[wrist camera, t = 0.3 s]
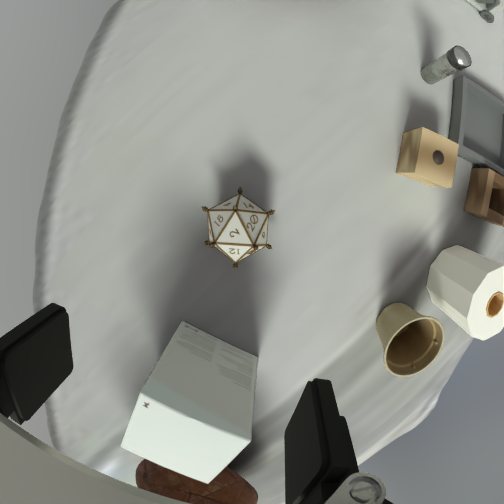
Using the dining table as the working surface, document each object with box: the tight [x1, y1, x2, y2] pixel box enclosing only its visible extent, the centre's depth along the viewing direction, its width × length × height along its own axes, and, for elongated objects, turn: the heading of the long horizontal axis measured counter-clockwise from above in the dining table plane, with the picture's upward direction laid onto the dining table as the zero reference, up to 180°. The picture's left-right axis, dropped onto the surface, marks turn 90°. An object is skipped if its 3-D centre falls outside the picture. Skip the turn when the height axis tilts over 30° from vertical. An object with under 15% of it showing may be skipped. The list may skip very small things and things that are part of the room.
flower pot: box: [376, 303, 445, 377], centre depth 37 cm, size 9×9×9 cm
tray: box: [448, 76, 504, 177], centre depth 31 cm, size 12×12×3 cm
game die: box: [202, 187, 275, 270], centre depth 35 cm, size 9×8×10 cm
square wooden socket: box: [464, 168, 504, 227], centre depth 33 cm, size 7×7×4 cm
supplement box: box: [121, 321, 258, 484], centre depth 36 cm, size 13×13×18 cm
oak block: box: [396, 127, 459, 188], centre depth 32 cm, size 6×6×6 cm
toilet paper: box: [426, 245, 504, 340], centre depth 33 cm, size 10×10×12 cm
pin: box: [421, 46, 471, 84], centre depth 27 cm, size 3×3×10 cm
